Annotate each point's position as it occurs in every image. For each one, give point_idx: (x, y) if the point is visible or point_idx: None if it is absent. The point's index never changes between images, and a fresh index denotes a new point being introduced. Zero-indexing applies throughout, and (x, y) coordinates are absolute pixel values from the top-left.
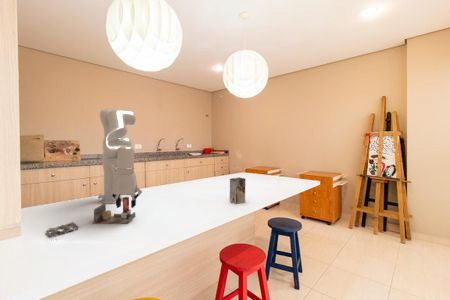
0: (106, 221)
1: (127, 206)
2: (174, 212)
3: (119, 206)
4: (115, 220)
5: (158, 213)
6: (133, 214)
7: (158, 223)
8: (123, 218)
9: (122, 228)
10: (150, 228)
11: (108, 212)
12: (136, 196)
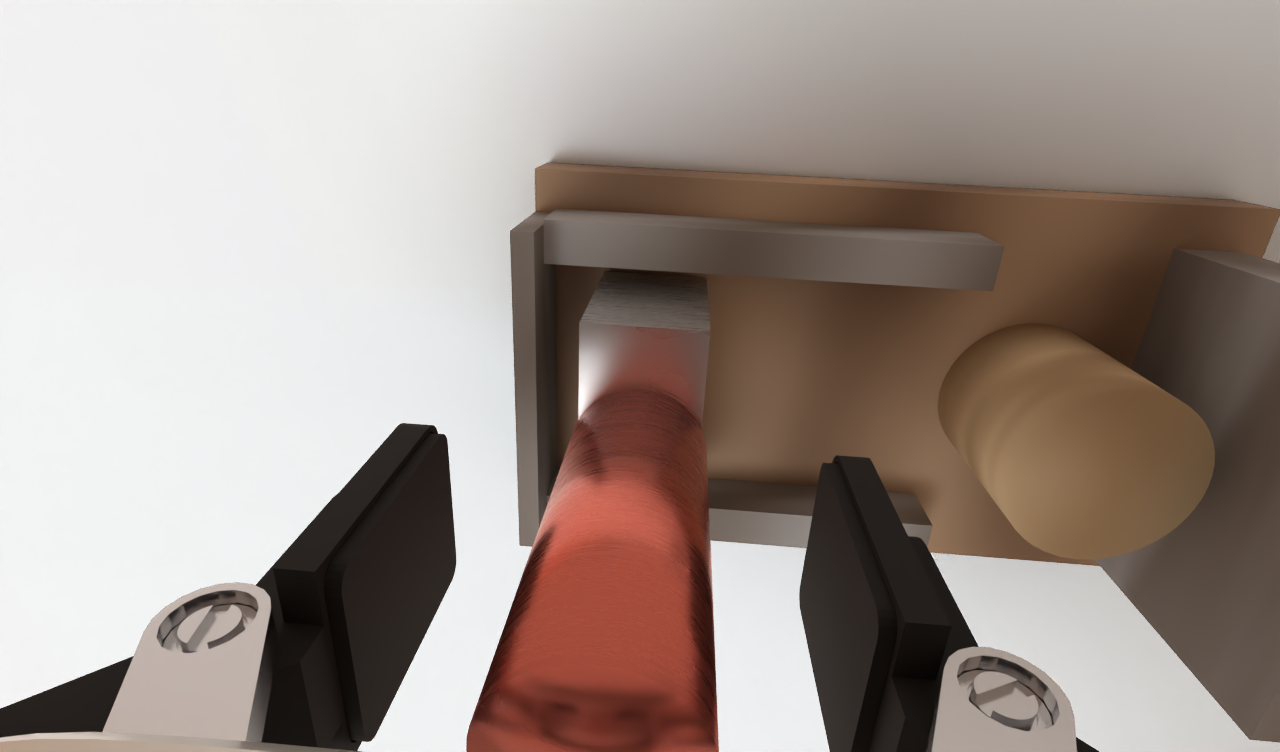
0: (1000, 311)
1: (562, 483)
2: (87, 673)
3: (813, 532)
4: (806, 233)
5: None
6: (520, 457)
7: (102, 293)
8: (658, 291)
9: (625, 100)
10: (124, 81)
11: (1051, 435)
12: (22, 729)
